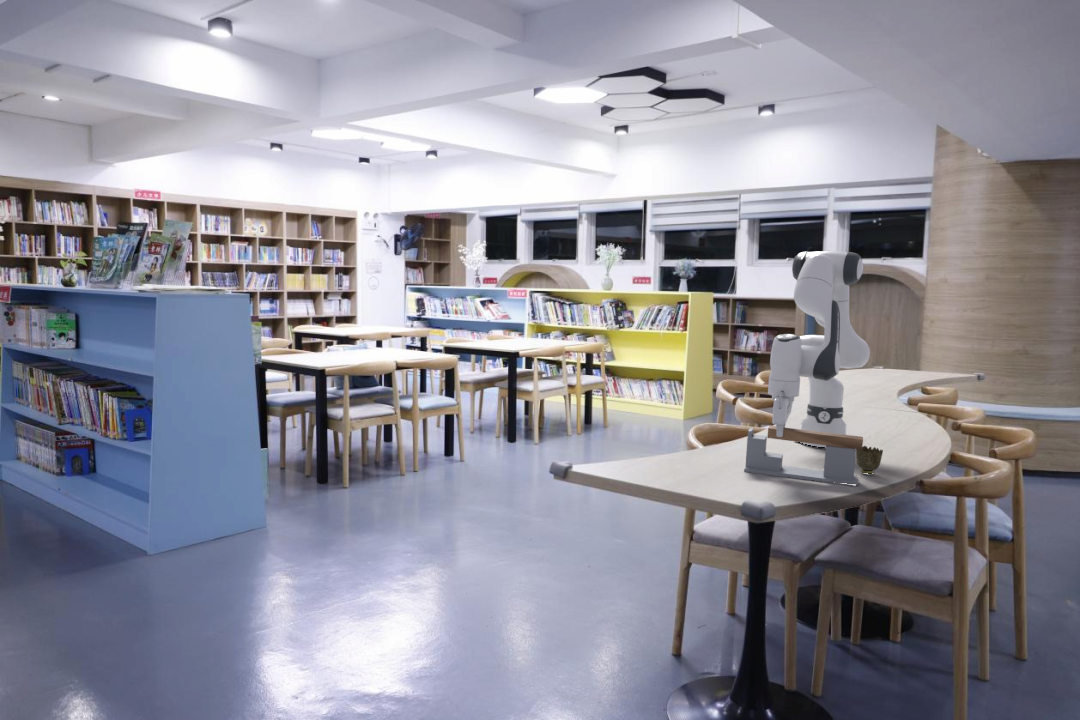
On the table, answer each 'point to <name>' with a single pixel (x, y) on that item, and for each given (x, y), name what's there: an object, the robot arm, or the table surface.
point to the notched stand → (763, 462)
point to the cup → (868, 459)
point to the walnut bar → (817, 437)
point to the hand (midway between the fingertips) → (780, 434)
